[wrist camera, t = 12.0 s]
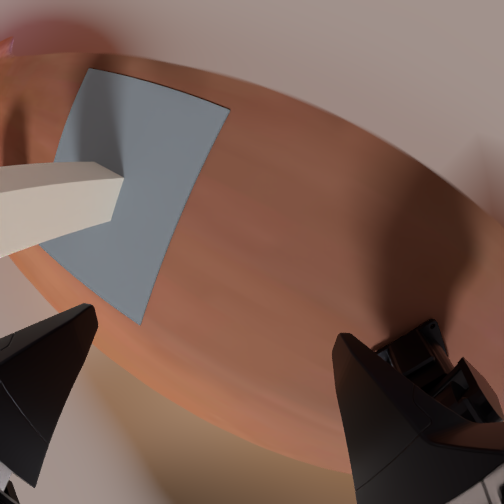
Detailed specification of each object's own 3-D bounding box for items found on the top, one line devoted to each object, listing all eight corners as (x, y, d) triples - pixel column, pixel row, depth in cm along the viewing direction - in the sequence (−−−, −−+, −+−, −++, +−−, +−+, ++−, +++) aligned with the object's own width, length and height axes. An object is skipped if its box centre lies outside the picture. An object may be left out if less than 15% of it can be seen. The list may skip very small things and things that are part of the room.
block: (124, 177, 20) (-9, 194, 8) (110, 220, 21) (-11, 262, 9) (93, 161, 20) (-28, 170, 8) (82, 202, 21) (-32, 230, 9)
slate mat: (230, 111, 17) (229, 110, 17) (141, 323, 24) (139, 325, 23) (91, 68, 18) (89, 68, 18) (40, 244, 24) (38, 244, 24)
